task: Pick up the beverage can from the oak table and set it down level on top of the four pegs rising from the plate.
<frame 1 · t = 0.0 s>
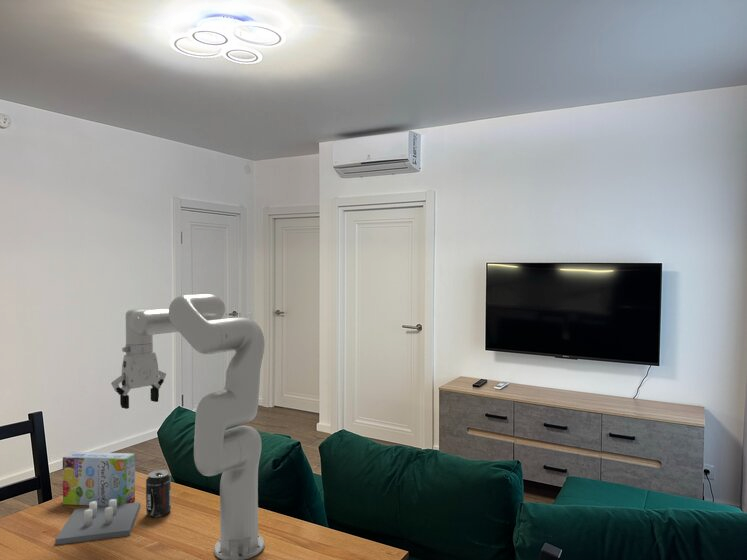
hand: (140, 404, 161), 31 cm above the table, tool pointing down, fingers open, 9 cm apart
snack box: (99, 503, 164), on the table
beverage can: (158, 514, 156), on the table
peg stand: (101, 524, 149), on the table
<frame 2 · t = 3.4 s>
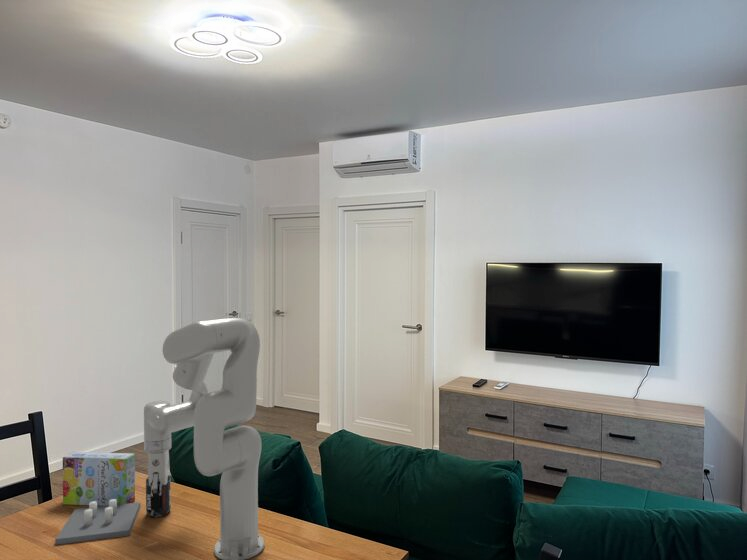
hand: (158, 502, 156), 3 cm above the table, tool pointing down, fingers closed on beverage can, 6 cm apart
beverage can: (158, 514, 156), on the table, touching gripper
everything else where it was.
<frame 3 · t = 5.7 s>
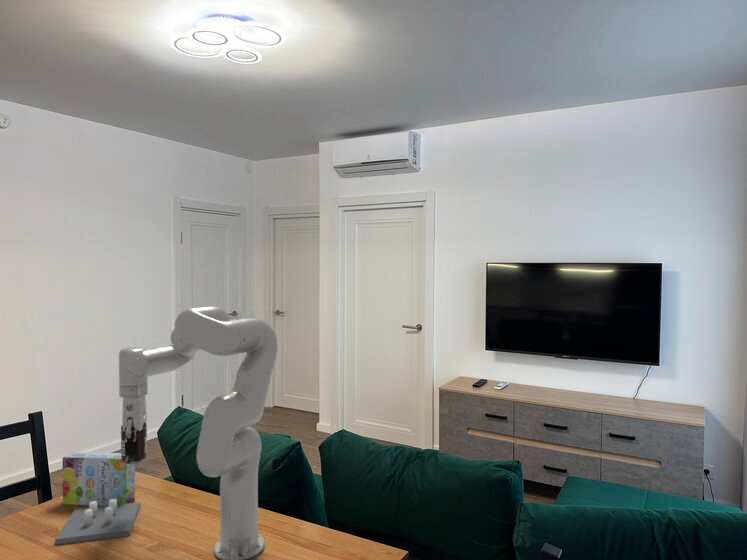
hand: (134, 450, 153), 20 cm above the table, tool pointing down, fingers closed on beverage can, 6 cm apart
beverage can: (134, 461, 153), point 17 cm above the table, touching gripper
everything else where it was.
when the fingers open (10 cm above the table, at t = 8.3 s): beverage can drops 1 cm, resting on peg stand.
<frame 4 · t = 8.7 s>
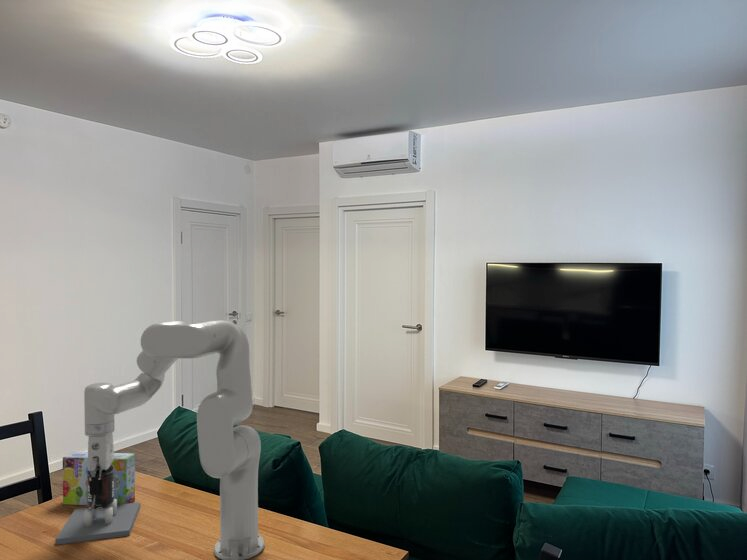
hand: (100, 486, 149), 11 cm above the table, tool pointing down, fingers open, 9 cm apart
beverage can: (101, 506, 149), point 5 cm above the table, touching peg stand
everything else where it was.
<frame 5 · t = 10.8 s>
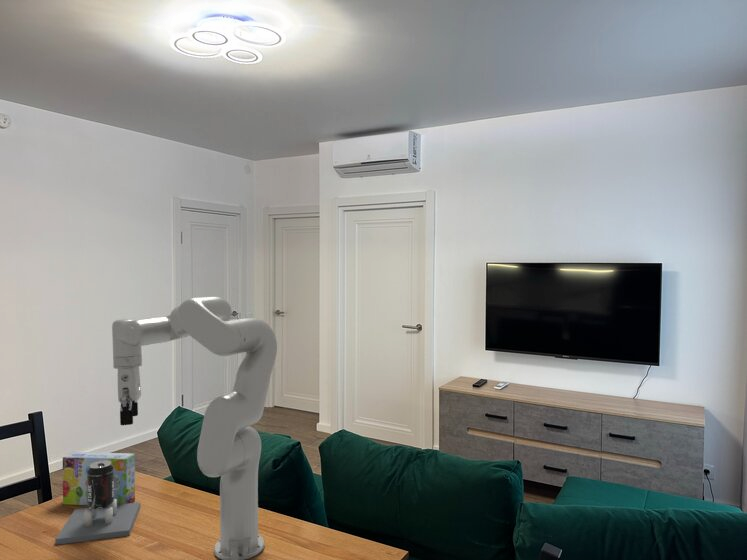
hand: (129, 420, 152), 29 cm above the table, tool pointing down, fingers open, 9 cm apart
nothing on the table moved.
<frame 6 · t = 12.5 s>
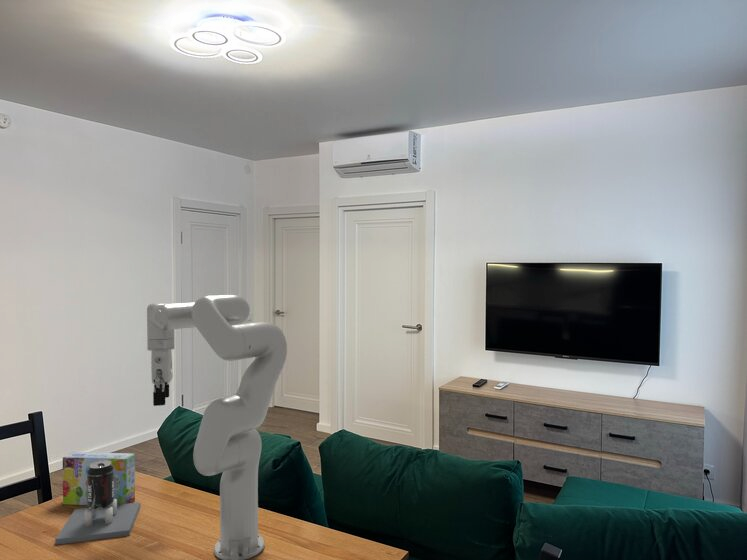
hand: (161, 401, 157), 33 cm above the table, tool pointing down, fingers open, 9 cm apart
nothing on the table moved.
at the end: beverage can 0.2 cm off-centre on the peg stand, point 5.3 cm above the peg stand's base; beverage can tilted 0°; the gripper is holding nothing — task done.
